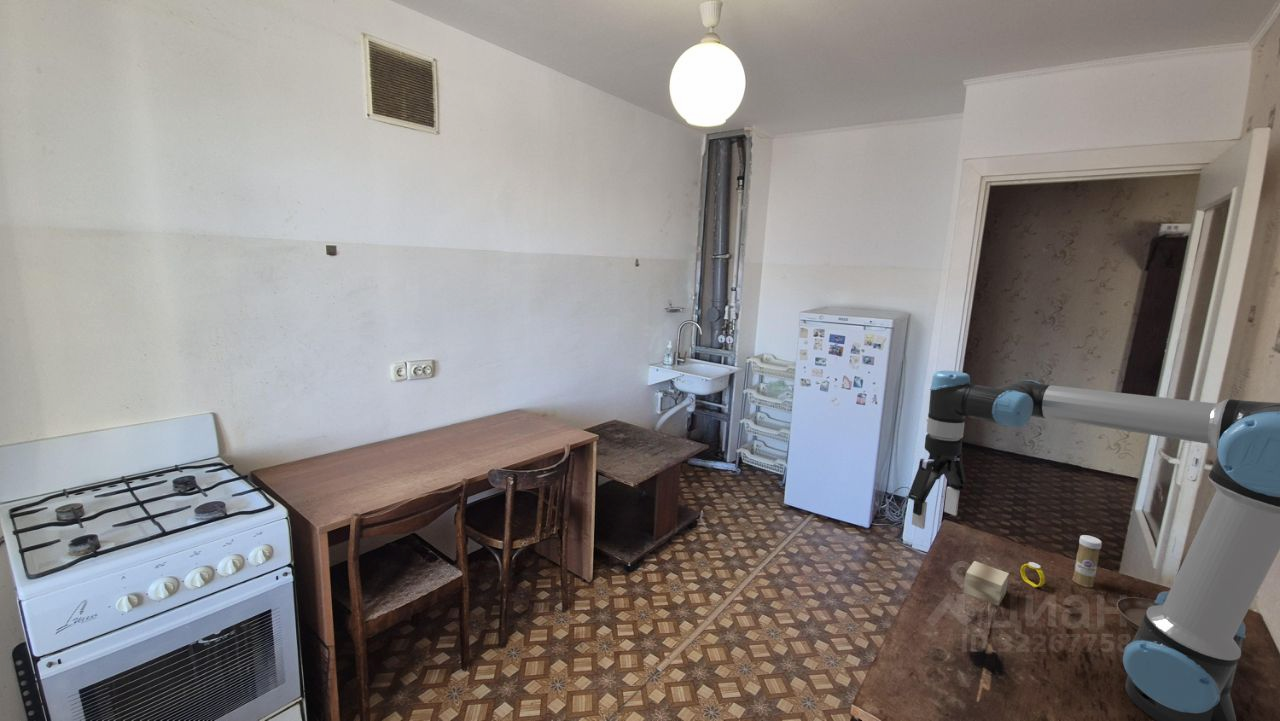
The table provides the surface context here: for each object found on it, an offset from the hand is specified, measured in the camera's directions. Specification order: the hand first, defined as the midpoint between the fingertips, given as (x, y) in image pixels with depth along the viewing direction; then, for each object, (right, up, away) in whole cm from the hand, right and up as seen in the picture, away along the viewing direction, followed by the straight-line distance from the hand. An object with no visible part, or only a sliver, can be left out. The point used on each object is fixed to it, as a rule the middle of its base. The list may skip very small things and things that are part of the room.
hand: (934, 519), depth 125 cm
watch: (+36, -23, +17) cm, 46 cm away
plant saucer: (+55, -27, -1) cm, 61 cm away
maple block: (+21, -24, +13) cm, 34 cm away
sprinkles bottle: (+51, -23, +17) cm, 59 cm away
